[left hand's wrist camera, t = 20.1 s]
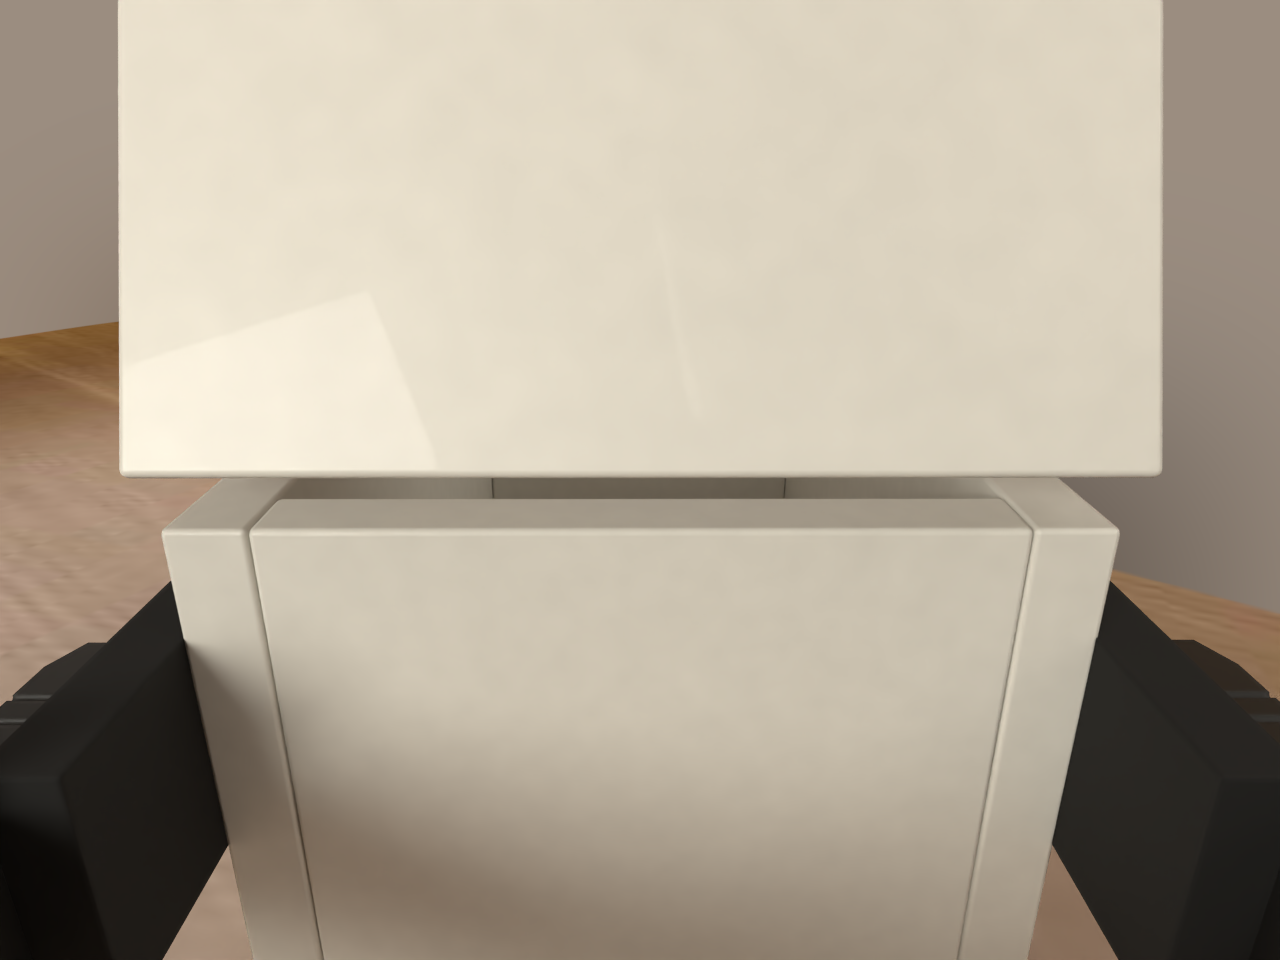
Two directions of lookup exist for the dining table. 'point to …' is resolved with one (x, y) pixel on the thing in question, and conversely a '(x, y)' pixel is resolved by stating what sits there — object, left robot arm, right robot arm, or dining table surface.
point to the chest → (640, 711)
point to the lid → (640, 238)
